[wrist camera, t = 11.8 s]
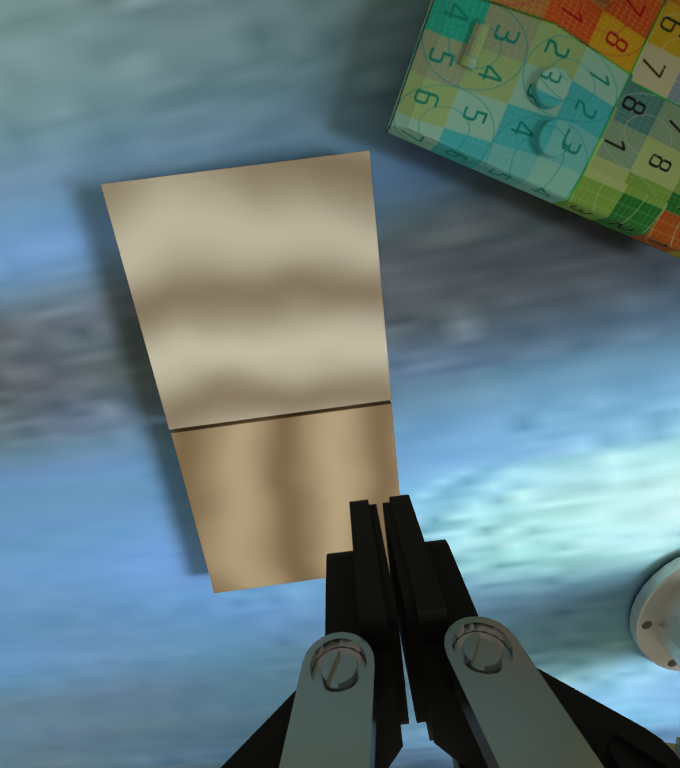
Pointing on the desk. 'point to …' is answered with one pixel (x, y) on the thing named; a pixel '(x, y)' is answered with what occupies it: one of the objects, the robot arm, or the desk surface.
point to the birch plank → (256, 287)
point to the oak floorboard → (285, 489)
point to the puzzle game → (556, 104)
